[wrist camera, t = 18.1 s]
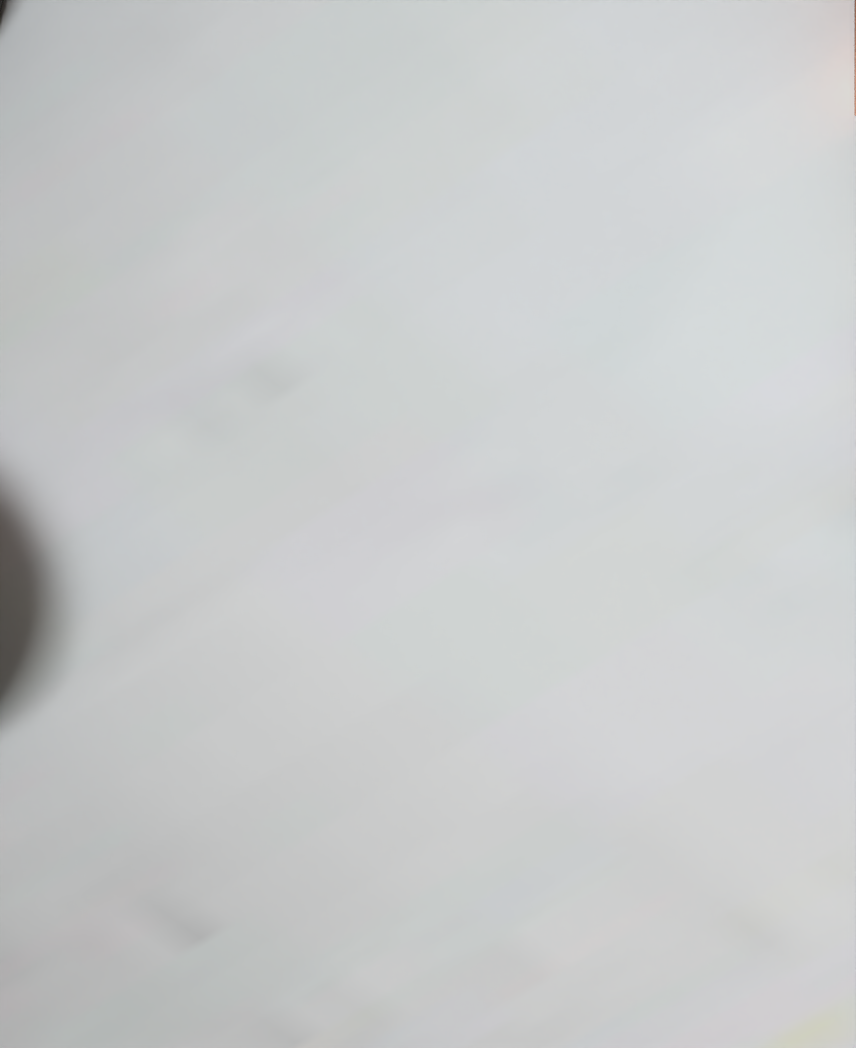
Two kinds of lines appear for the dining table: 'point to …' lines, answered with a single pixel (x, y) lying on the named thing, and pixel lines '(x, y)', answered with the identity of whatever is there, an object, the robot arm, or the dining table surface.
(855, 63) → the rack
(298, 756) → the dining table surface
